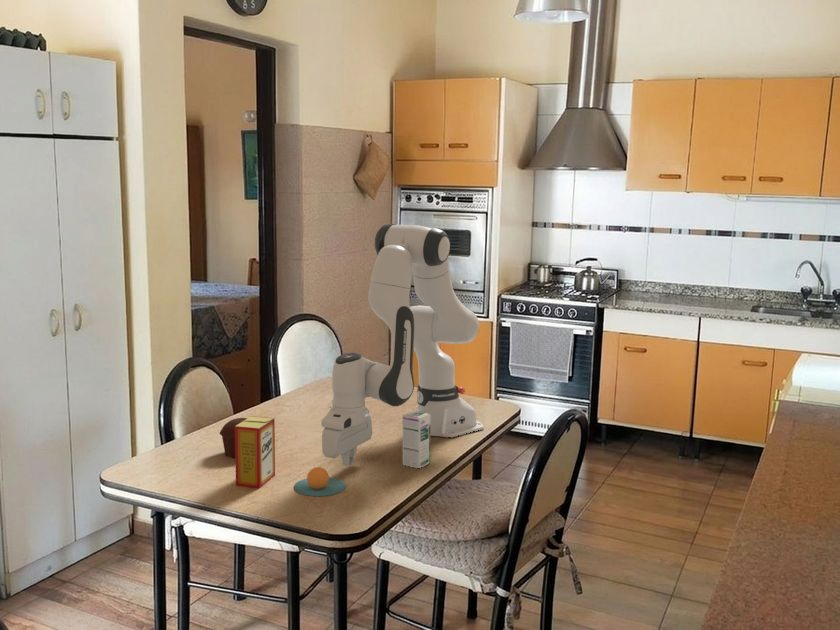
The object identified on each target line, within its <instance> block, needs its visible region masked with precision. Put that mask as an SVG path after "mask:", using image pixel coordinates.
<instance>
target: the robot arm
mask: <svg viewBox="0 0 840 630" xmlns="http://www.w3.org/2000/svg"><path fill="white" fill-rule="evenodd" d="M374 249H375V253H376V254H377V257H376V259H375V262H374V266H373V268H372V272H371V277H370V282H369V285H368V286H369V288H368V293H367V295H368V296H367V300H368V305H369V307H370V309H371V310H372V312H373V313H374V314H375V315H376V316H377V317H378V318H379V319H381V321H383V322H384V323H385V324H386V325H387V327H388V329H389V330H390V334H391V348H390V349H391V350H390V364H389V365H388V364H384V363H381V362H376V361H373V360H370V359H369V358H365V357H364V356H363V355H362V354H361V353H358V352H347V353H343V354H340V355H339V356H337V357H336V358H335V360H334V362H333V366H332V372H331V373H332V374H331V390H332V393H333V396H332V401H331V405H332V408H330V409H329V411H328V412H327V413H326V415H325V416H324V417H323V418H322V419H321V427H322V428H323V430H322V433H321V434H322V435H321V450H322V451H321V452H322V454H323V456H324V457H326V458H329V459H337V458H338V457H340V456H341V459H342V465H343V466H345V467H348V466H350V465H353V464H354V463H355V455H356V452H357V447H359V446H360V445H362V444H364V443H366V442H368V441H369V440H371V439H372V436H373V424H372V423H373V422H372V416H371V415H370V410H369V409H368V408H367V407H366V398H371V399H374V400H377V401H380V402H383V403H384V404H387V405H390V406H392V407H400V406H402V405H404V404H405V403H407V401H408V400H410V398H411V397H412V395H413V393H414V389H415V378H414V370H413V369H414V368H413V365H414V362H413V361H414V352H415V355H416V358H417V363H418V384H417V388H416V389H417V391H416V392H417V393H416V397H417V398H416V399H417V407H416V409H417V410H416V411H423V412H427V413H430V414H431V436H432V437H443V438H448V437H451V438H454V437H458V435H459V436H463V435H466V433H467V434H471V433H474V432H473V431H475V432H479V431H481V430H484V429H483V428H484V424H483V423H482V422H481V421H479V420H477V414H476V411H475V408H474V407H473V406H472V405H470V404H469V403H468V402H467V401H465V400H464V399H463V398H462V397H461V396H460V395H459V394H461V395H464V394H465V393H466V389H465V387H462V386H458V385H456V384H455V376H456V375H455V374H456V373H455V371H456V370H455V368H456V367H455V366H456V365H455V362H454V360H453V358H452V357H451V356H450V355H449V354H446V352H444V351H442V350H441V348H440V346H439V344H442V343H443V344H453V345H459V344H468V343H472V342H473V341H474V340H475V339H476V337H477V336H478V334H479V332H480V331H479V330H480V322H479V319H478V316H477V315H476V313H474V311H473V310H471V309H469V308H467V306H466V305H464V304H463V303H462V301H461V300H460V299H459V298H458V296H457V295H456V292H455V291H454V288H453V283H452V278H451V272H450V264H449V259H448V258H449V255H450V252H451V251H450V250H451V240H450V237H449V236H448V234H447V233H446V232H445V231H444V230H442V229H440V228H436V227H428V226H423V225H418V224H397V223H388V224H383V225H382V226H381V227H380V228H379V229H378V230H377V231H376V233H375V237H374ZM412 278H413V285H414V286H413V287H414V292H415V294H416V297H417V298H418V299H419V300H420V301H421V302H422V303H424V304H426V305H421V304H419V305H412V306H411V303H410V292H411V286H412ZM478 430H479V431H478ZM470 432H471V433H470Z"/></svg>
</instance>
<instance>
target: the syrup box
mask: <svg viewBox="0 0 840 630" xmlns="http://www.w3.org/2000/svg"><path fill="white" fill-rule="evenodd" d="M431 438H432V437H431V414H430V413H427V412H423V411H417V410H412V411H411V412H408V413H406V414H403V415H402V465H403V466H405V465H406V467H408V466H412V467H416V468H415V469H417V468H420V469H422V468H423V467H425V466H427V465H430V464H431V440H432V439H431ZM429 463H430V464H429ZM412 467H411V468H412ZM421 467H422V468H421Z"/></svg>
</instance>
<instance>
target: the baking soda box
mask: <svg viewBox="0 0 840 630" xmlns="http://www.w3.org/2000/svg"><path fill="white" fill-rule="evenodd" d="M247 418H248V419H246V420H244V421H243V422H241V423H239V424H238V425H236V426H235V458H234V460H235V461H234V462H235V486H236V487H244V488H251V489H252V488H253V489H261V488H262V487H263V486H265V485H266V484H267V483H269V481H270V480H272V479H273V478H274V477H276V454H275V453H276V444H275V443H276V441H275V440H276V439H275V437H276V436H275V435H276V434H275V429H276V428H275V418H274V417H265V416H264V417H263V416H253V415H251V416H248V417H247ZM271 478H272V479H271Z"/></svg>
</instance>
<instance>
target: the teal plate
mask: <svg viewBox="0 0 840 630" xmlns="http://www.w3.org/2000/svg"><path fill="white" fill-rule="evenodd" d="M346 487H347V486H346V482H344V481H343V480H341V479H339V478H335V477H330V476H329V481H328V484H327V485H326V486H325V487H324V488H322V489H313V488H312V487H310V486H309V484H308V482H307V478H303V479H301V480H299V481H297V482H295V484H294V486H293V489H294V491H295V492H296V493H298V494H299V495H303V496H308V497H329V496H334V495H337V494H339V493H341V492H343V491H344V490H345V489H346Z"/></svg>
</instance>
